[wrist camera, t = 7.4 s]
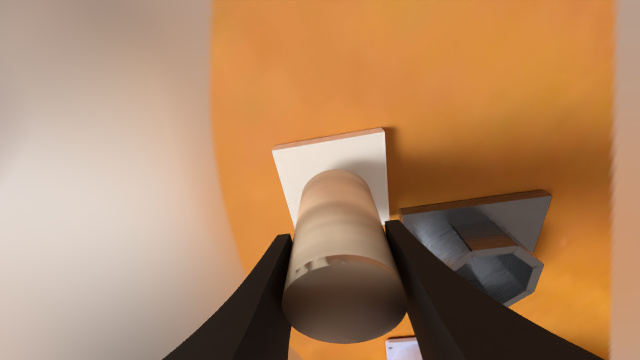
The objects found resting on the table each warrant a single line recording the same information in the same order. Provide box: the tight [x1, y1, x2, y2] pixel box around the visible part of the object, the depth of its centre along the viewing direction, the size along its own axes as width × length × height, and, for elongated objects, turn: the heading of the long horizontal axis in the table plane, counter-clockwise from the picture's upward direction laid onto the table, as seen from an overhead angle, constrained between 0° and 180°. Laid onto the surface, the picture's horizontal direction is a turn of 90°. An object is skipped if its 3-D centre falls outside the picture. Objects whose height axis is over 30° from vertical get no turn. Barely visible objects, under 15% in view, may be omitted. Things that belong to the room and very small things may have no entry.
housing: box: [400, 190, 552, 307], centre depth 18 cm, size 10×10×3 cm
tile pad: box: [272, 127, 390, 228], centre depth 16 cm, size 7×7×1 cm
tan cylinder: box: [282, 169, 408, 344], centre depth 11 cm, size 4×4×7 cm
